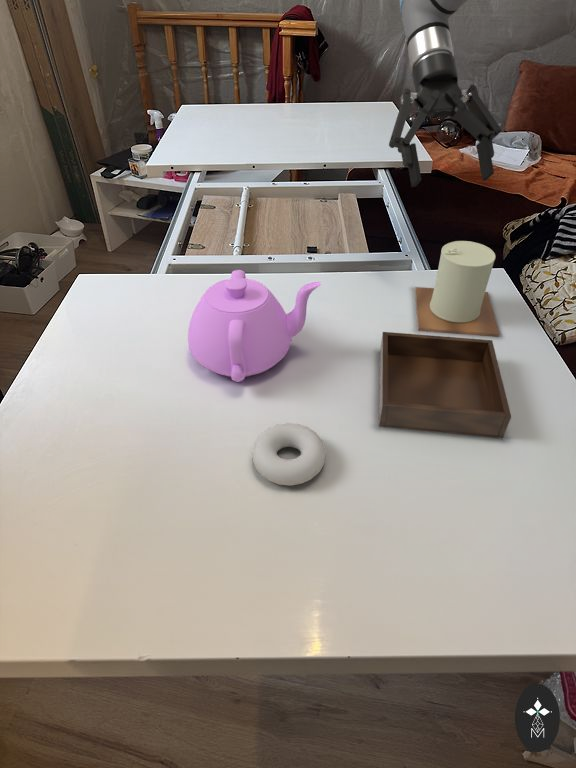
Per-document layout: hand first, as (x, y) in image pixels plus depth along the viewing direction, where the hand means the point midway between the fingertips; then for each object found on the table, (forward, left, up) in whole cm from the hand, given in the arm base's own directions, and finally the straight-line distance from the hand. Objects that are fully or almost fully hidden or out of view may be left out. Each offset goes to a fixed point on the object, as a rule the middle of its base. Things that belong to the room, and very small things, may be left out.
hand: (452, 180), depth 94 cm
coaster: (-3, +10, -21) cm, 23 cm away
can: (-3, +10, -20) cm, 23 cm away
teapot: (+32, +27, -21) cm, 46 cm away
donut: (+23, +50, -21) cm, 59 cm away
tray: (+2, +33, -21) cm, 39 cm away
